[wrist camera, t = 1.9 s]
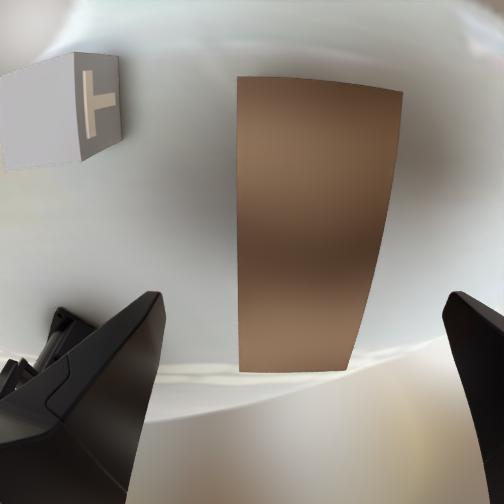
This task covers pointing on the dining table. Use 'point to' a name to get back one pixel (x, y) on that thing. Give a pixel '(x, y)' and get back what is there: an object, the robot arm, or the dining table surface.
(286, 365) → the brown wooden block
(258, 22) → the dining table surface
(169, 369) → the dining table surface
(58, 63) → the letter cube
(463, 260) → the dining table surface
